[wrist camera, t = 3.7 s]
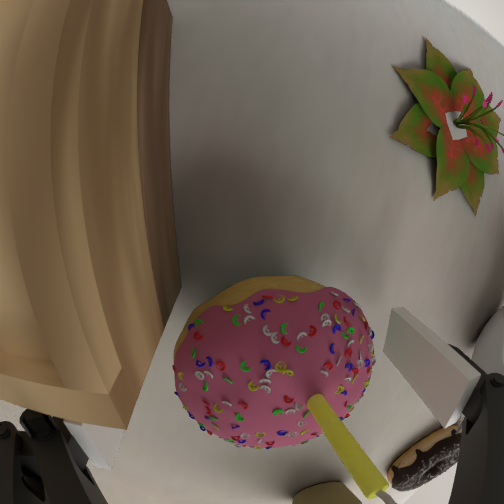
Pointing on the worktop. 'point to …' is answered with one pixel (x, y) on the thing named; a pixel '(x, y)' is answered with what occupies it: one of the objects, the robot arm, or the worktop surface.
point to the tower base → (157, 150)
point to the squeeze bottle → (326, 495)
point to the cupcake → (279, 368)
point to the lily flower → (442, 146)
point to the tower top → (73, 212)
